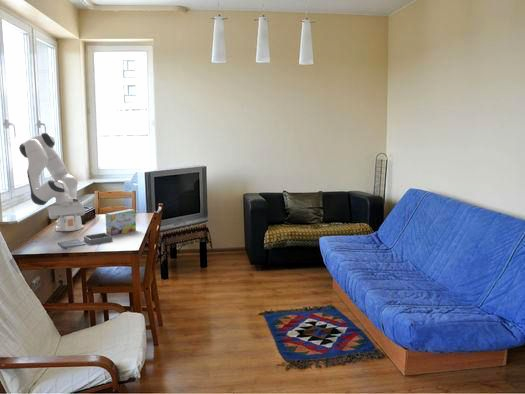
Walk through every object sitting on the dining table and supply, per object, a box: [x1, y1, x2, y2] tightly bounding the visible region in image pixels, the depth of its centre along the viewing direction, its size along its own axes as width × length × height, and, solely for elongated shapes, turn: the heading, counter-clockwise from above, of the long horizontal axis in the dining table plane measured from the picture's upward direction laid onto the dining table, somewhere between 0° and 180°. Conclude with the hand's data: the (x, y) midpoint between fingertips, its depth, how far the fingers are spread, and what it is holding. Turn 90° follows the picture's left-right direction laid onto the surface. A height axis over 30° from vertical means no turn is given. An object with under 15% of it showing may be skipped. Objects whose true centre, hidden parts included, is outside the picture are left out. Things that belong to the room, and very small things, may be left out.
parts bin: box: [83, 232, 113, 246], centre depth 283 cm, size 13×13×4 cm
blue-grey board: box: [57, 238, 86, 250], centre depth 277 cm, size 16×12×1 cm
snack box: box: [105, 208, 137, 237], centre depth 305 cm, size 21×6×15 cm, turn 148°
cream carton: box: [64, 215, 76, 231], centre depth 274 cm, size 5×4×8 cm
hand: (69, 221), depth 273 cm, fingers closed on cream carton, 4 cm apart
